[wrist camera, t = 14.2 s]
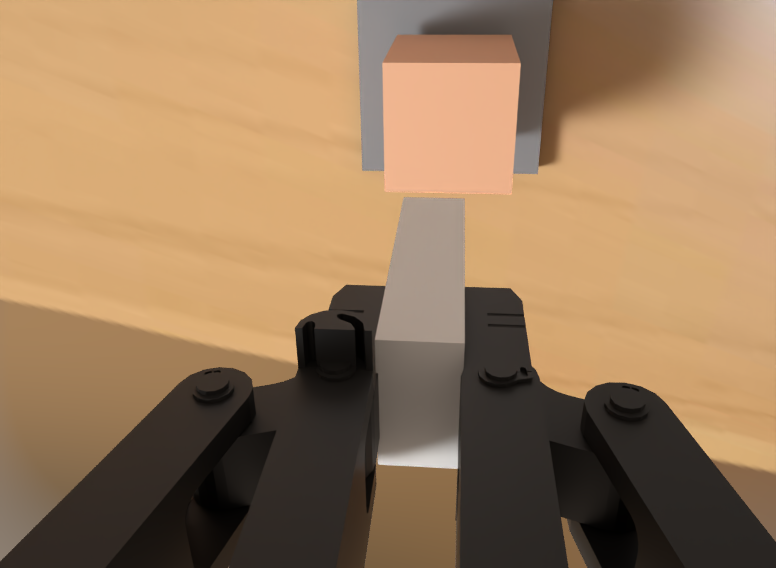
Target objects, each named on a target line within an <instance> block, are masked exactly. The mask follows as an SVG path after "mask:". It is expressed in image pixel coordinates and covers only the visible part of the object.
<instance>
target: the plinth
mask: <svg viewBox="0 0 776 568" xmlns="http://www.w3.org/2000/svg"><path fill="white" fill-rule="evenodd" d="M552 6H553V0H357V13H358V45H359V77H360V109H361V141H362V171H384V124H383V68H382V63H383V61H384V59H385V57H386V55H387V53H388V51H389V49H390V47H391V46H392V44H393V42H394V40H395V38H396V36H397V35H512V38H513V41H514V44H515V47H516V50H517V53H518V56H519V59H520V62H521V68H520V82H519V97H518V111H517V125H516V140H515V154H514V168H513V173H514V174H538V165H539V153H540V142H541V131H542V119H543V108H544V97H545V85H546V74H547V63H548V51H549V40H550V29H551V17H552Z"/></svg>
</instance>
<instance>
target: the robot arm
mask: <svg viewBox="0 0 776 568" xmlns="http://www.w3.org/2000/svg"><path fill="white" fill-rule="evenodd" d="M295 334H296V346H297V357H298V371H297V374H296V376H295V377H294V378H292V379H289V380H287V381H284V382H280V383H276V384H271V385H265V386H259V387H253V386H252V379H251V378H250V377H249V376H248V375H247V374H246V373H245V372H242V371H239V370H236V369H233V368H220V367H219V368H213V369H206V370H202V371H200V372H197V373H195V374H192V375H190V376H189V377H187V378H186V379H184V380H183V381H182V382H180V383H179V384H178V385H177V386H176V387H175V388H174V389H173V390H172V391H171V392H170V393H169V394H168V395H167V396H166V397H165V398H164V399H163V400H162V401H161V402H160V403H159V404H158V405H157V406H156V407H155V408H154V409H153V410H152V411H151V412H150V413H149V414H148V415H147V416H146V417H145V418H144V419H143V420H142V421H141V422H140V423H139V424H138V425H137V426H136V427H135V428H134V429H133V430H132V431H131V432H130V433H129V434H128V435H127V436H126V437H125V438H124V439H123V440H122V441H121V442H120V443H119V444H118V445H117V446H116V447H115V448H114V449H113V450H112V451H111V452H110V453H109V454H108V455H107V456H106V457H105V458H104V459H103V460H102V461H101V462H100V463H99V464H98V465H97V466H96V467H95V468H94V469H93V470H92V471H91V472H90V473H89V474H88V475H87V476H86V477H85V478H84V479H83V480H82V481H81V482H80V483H79V484H78V485H77V486H76V487H75V488H74V489H73V490H72V491H71V492H70V493H69V494H68V495H67V496H66V497H65V498H64V499H63V500H62V501H61V502H60V503H59V504H58V505H57V506H56V507H55V508H54V509H53V510H51V512H49V513H48V515H46V516H45V517H44V518H43V519H42V520H41V521H40V522H39V524H38V525H36V526H35V527H34V528H33V529H32V530H31V531H30V532H29V534H27V535H26V536H25V537H24V539H22V540H21V541H20V542H19V543H18V544H17V545H16V546H15V547H14V548H13V549H12V551H10V552H9V553H8V554H7V555H6V556H5V558H3V559H2V560H1V561H0V568H228V567H229V568H364V565H365V559H366V552H367V545H368V538H369V531H370V524H371V518H372V511H373V504H374V497H375V490H376V458H377V452H378V464H381V465H398V466H416V467H435V468H453V469H458V475H457V499H456V568H568V562H567V556H566V549H565V542H564V536H563V529H562V523H561V517H564V518H567V521H568V525H569V530H570V532H571V534H572V536H573V539H574V541H575V543H576V545H577V547H578V549H579V551H580V553H581V555H582V557H583V559H584V561H585V564H586V566H587V568H776V542H775V541H774V539H773V538H772V537H771V535H770V534H769V533H768V532H767V530H766V529H765V528H764V526H763V525H762V524H761V523H760V521H759V520H758V519H757V518H756V516H755V515H754V514H753V513H752V512H751V510H750V509H749V508H748V506H747V505H746V504H745V502H744V501H743V500H742V499H741V497H740V496H739V495H738V494H737V492H736V491H735V490H734V489H733V487H732V486H731V485H730V484H729V482H728V481H727V480H726V478H725V477H724V476H723V475H722V474H721V472H720V471H719V470H718V468H717V467H716V466H715V465H714V463H713V462H712V461H711V459H710V458H709V457H708V456H707V454H706V453H705V452H704V451H703V449H702V448H701V447H700V446H699V444H698V443H697V442H696V441H695V439H694V438H693V437H692V435H691V434H690V433H689V432H688V430H687V429H686V428H685V427H684V425H683V424H682V423H681V422H680V420H679V419H678V418H677V416H676V415H675V414H674V413H673V411H672V410H671V409H670V408H669V406H668V405H667V404H666V403H665V402H664V401H663V400H662V399H661V398H660V397H659V396H657V395H656V394H655V393H653V392H651V391H649V390H647V389H645V388H643V387H641V386H636V385H632V384H628V383H610V382H609V383H605V384H601V385H597V386H595V387H594V388H592V389H591V390H590V391H588V392H587V394H586V397H585V400H584V399H580V398H576V397H572V396H568V395H565V394H562V393H559V392H557V391H555V390H553V389H551V388H549V387H547V386H546V385H544V384H543V383H542V382H540V378H539V376H538V374H537V372H536V370H535V369H534V368H533V367H532V366H531V359H530V352H529V346H528V339H527V332H526V325H525V318H524V311H523V304H522V300H521V299H520V298H519V297H518V296H517V295H516V294H515V293H514V292H513V291H512V290H511V289H510V288H480V287H465V199H462V198H415V197H404V198H403V203H402V208H401V213H400V218H399V223H398V228H397V233H396V238H395V243H394V248H393V253H392V258H391V262H390V267H389V272H388V277H387V282H386V286H365V285H346V286H344V287H343V288H342V289H341V290H340V291H339V292H337V293H336V294H335V295H334V296H333V298H332V301H331V304H330V307H329V310H328V311H322V312H318V313H315V314H311V315H309V316H308V317H306V318H304V319H302V320H301V321H300V322H299V323H298V325H297V326H296V327H295Z"/></svg>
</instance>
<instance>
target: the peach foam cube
mask: <svg viewBox="0 0 776 568" xmlns="http://www.w3.org/2000/svg"><path fill="white" fill-rule="evenodd" d="M382 68H383V124H384V180H385V192H421V193H469V194H512V183H513V168H514V154H515V140H516V125H517V111H518V97H519V82H520V68H521V62H520V59H519V56H518V53H517V50H516V47H515V44H514V41H513V38H512V35H397V36H396V38H395V40H394V42H393V44H392V46H391V47H390V49H389V51H388V53H387V55H386V57H385V59H384V61H383V63H382Z"/></svg>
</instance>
